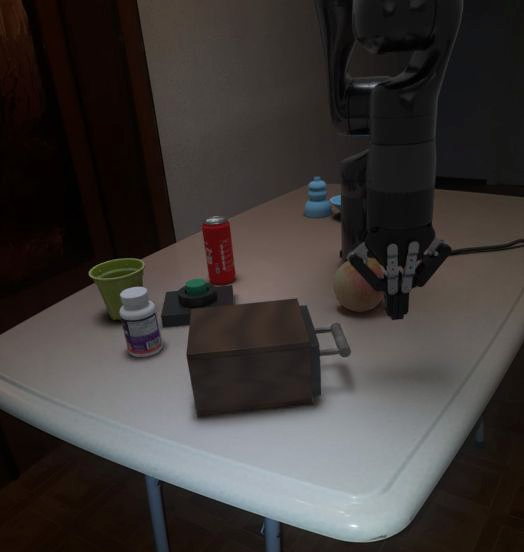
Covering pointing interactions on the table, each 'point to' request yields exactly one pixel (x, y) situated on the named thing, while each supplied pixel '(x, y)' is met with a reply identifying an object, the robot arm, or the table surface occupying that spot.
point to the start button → (196, 287)
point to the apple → (356, 287)
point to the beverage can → (218, 249)
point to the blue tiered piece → (320, 200)
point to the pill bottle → (140, 323)
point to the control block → (193, 303)
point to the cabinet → (249, 357)
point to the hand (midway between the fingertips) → (395, 316)
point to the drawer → (316, 352)
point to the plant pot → (117, 281)
